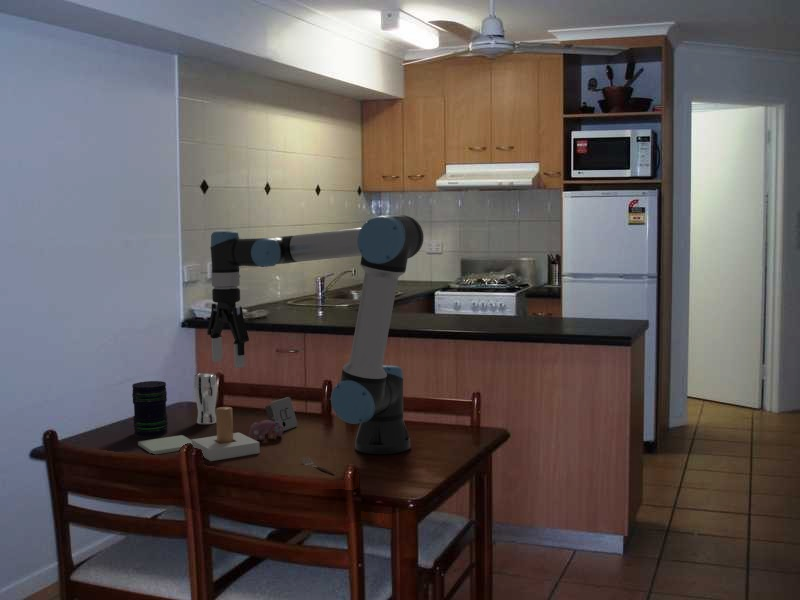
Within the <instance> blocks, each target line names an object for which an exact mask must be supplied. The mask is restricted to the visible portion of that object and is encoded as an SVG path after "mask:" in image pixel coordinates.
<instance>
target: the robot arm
mask: <svg viewBox="0 0 800 600" xmlns="http://www.w3.org/2000/svg"><path fill="white" fill-rule="evenodd" d="M424 236H425V235H424V231H423V228H422V226H421V224H419V222H418V221H417V220H416V218H415V219H414V218H413V217H411V216H409V215H405V214H397V215H394V214H392V215H391V214H388V215H387V214H383V215H382V214H381V215H377V216H374V217H372V218H370V219H368V220H367V221H365V223H364V224H363V225H362V226H361V227H356V228H355V227H354V228H347V229H338V230H329V231H322V232H320V231H319V232H312V233H304V234H295V235H287V236H286V235H285V236H277V237H263V238H261V237H259V238H258V237H257V238H240V237H239V232H237V231H236V230H235V231H234V230H230V231H229V230H227V231H225V230H224V231H222V230H221V231H213V232H212V233H211V236H210V247H209V248H210V255H211V256H210V257H211V258H210V259H211V287H213V288H212V290H211V292H212V293H211V295H212V297H211V298H212V302H213V303H211V312H210V317H209V323H208V327H207V333H206V335H207V336H210V338H211V357H212V359H211V360H212V362H220V361H223V345H222V343H223V342H222V341H223V340H222V339H223V338H222V337H223V335H222V331H223V329H224V327H225V324H228V326H229V328H230V331H231V333H232V336H233V339H234V341H233V351H234V353H233V354H234V357H233V359H234V368H235V369H237V368H245V367H246V362H245V361H246V359H245V358H246V357H245V356H246V353H245V343H247V342H249V341H250V338H249V333H248V330H247V326H246V322H245V318H244V314H243V306H237V305H236V303H238V302H240V301H241V289H240V287H239V286H240V283H241V282H240V278H241V274H240V267H260V268H267V267H275V266H276V265H282V264H283V265H284V264H291V263H299V262H309V261H321V260H330V259H332V260H333V259H342V258H353V257H360V266H361V268H362V269H363V270H364V276H363V277H364V278H363V283H362V288H361V295H360V299H359V306H358V311H357V318H356V323H355V329H354V335H353V339H352V340H353V341H352V344H351V345H352V346H351V353H350V358H349V361H348V362H347V363H346V364H344V365H343V366H342V368H341V369H342V371H341V375H340V380H339V381H340V382H338V383H337V384H336V385H335V386H334V387H333V389H332V391H331V395H330V404H331V406H332V410H333V412H335V414H336V416H337V417H338V418H339V419H340V420H342V421H344V422H345V423H347V424H351V425H352V424H353V425H358V424H359V427H358V429H357V434H356V437H355V441H354V445H355V446H354V447H355V450H356V451H357V452H359V453H363V454H367V455H368V454H370V455H392V454H393V455H394V454H399V453H404V452H406V451H408V450H409V449H410V448H411V439H410V436H409V433H408V429H407V427H406V423H405V421H404V377H403V376H404V375H403V369H402V367H401V366H398V365H388V364H384V360H385V354H386V348H387V342H388V336H389V332H390V331H389V330H390V325H391V321H392V315H393V314H392V313H393V308H394V304H395V298H396V294H397V293H396V292H397V286H398V280H399V278H400V277H401V276H402V275H403V274H405V273H406V270H407V264H408V260H409V259H410V258H412V257H414V256H415V255H417V254H418V253H419V252H420V250H421V248H422V246H423V243H424Z"/></svg>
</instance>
